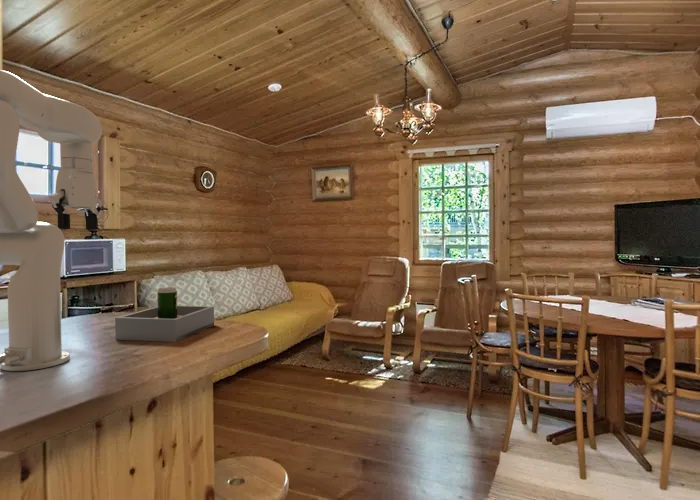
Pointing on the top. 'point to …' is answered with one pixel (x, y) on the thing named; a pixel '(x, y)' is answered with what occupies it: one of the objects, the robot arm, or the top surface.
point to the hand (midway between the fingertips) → (78, 229)
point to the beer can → (167, 303)
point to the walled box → (164, 324)
